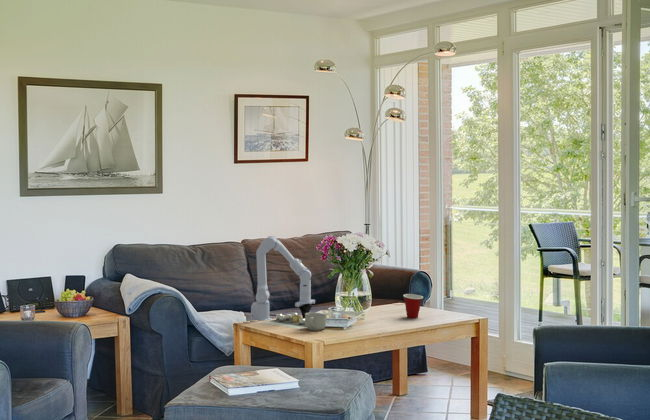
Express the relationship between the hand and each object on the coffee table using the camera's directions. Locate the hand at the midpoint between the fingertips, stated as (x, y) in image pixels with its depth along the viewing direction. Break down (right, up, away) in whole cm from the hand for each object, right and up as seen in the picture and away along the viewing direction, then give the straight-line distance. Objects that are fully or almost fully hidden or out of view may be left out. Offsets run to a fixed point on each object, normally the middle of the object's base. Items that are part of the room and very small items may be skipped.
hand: (304, 318), depth 447 cm
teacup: (+5, -3, -25) cm, 25 cm away
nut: (-4, -1, -5) cm, 7 cm away
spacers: (-4, -1, -5) cm, 6 cm away
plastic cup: (+58, -1, +14) cm, 60 cm away
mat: (-7, -2, -9) cm, 11 cm away
